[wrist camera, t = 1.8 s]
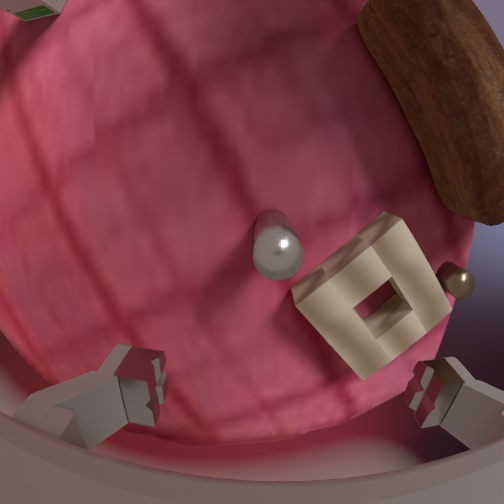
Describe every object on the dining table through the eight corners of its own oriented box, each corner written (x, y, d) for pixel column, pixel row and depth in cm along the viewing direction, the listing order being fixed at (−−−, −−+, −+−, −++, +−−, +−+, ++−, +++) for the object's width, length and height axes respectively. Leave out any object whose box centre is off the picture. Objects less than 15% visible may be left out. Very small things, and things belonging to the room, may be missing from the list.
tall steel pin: (273, 202, 33) (281, 221, 21) (295, 227, 33) (313, 258, 22) (248, 223, 33) (242, 253, 22) (269, 247, 34) (274, 289, 22)
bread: (415, -1, 24) (459, -41, 13) (503, 183, 31) (563, 194, 19) (334, 18, 27) (364, -36, 15) (437, 225, 33) (499, 251, 21)
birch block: (383, 211, 32) (402, 218, 28) (433, 294, 35) (452, 309, 30) (290, 287, 35) (295, 306, 30) (353, 358, 38) (363, 380, 33)
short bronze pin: (450, 256, 34) (469, 266, 29) (459, 275, 34) (477, 287, 30) (432, 273, 34) (449, 286, 30) (441, 292, 35) (458, 305, 31)
